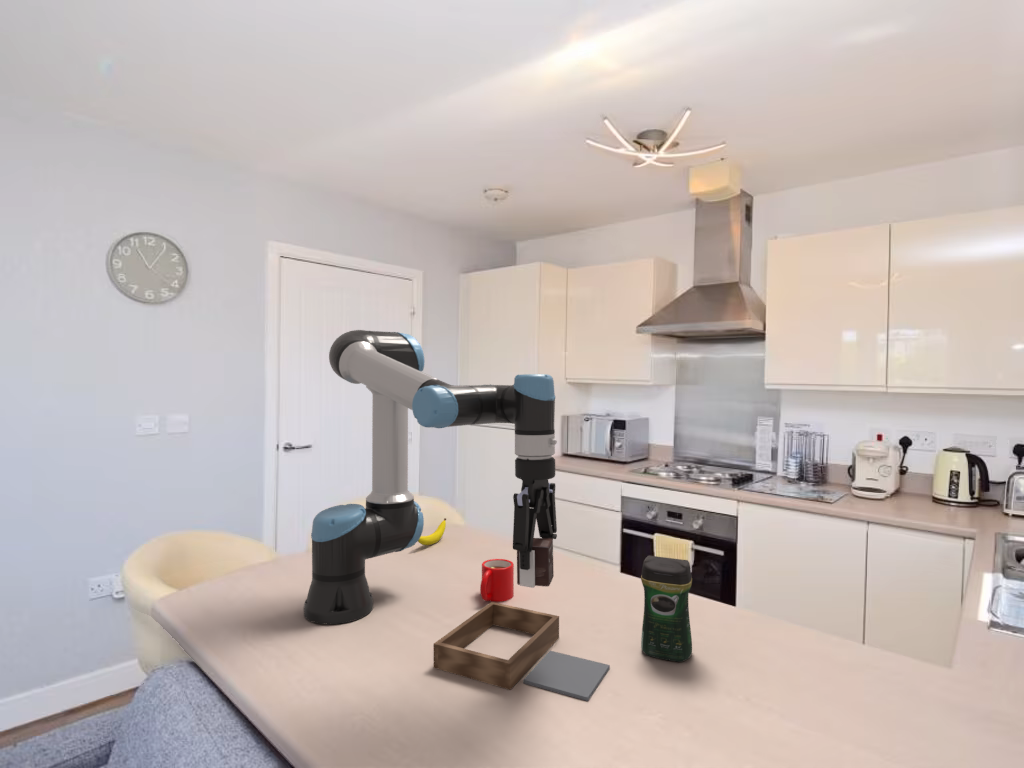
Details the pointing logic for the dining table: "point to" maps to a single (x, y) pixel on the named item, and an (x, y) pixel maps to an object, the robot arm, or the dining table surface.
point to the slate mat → (567, 675)
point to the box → (541, 561)
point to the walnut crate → (489, 667)
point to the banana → (433, 535)
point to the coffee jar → (666, 608)
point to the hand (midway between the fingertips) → (536, 579)
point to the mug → (497, 580)
